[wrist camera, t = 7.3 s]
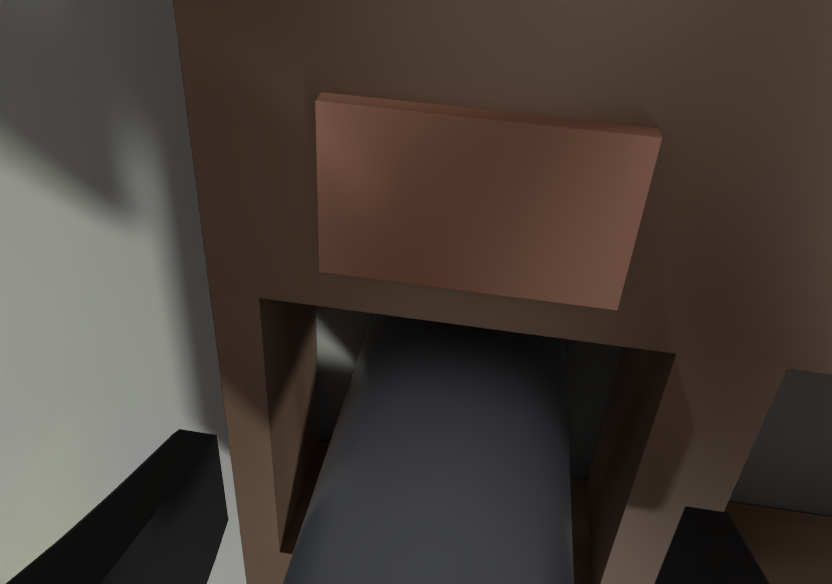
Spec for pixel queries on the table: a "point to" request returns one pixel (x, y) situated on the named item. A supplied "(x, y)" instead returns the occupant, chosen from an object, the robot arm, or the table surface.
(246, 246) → the socket board
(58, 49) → the table surface
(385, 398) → the plug
